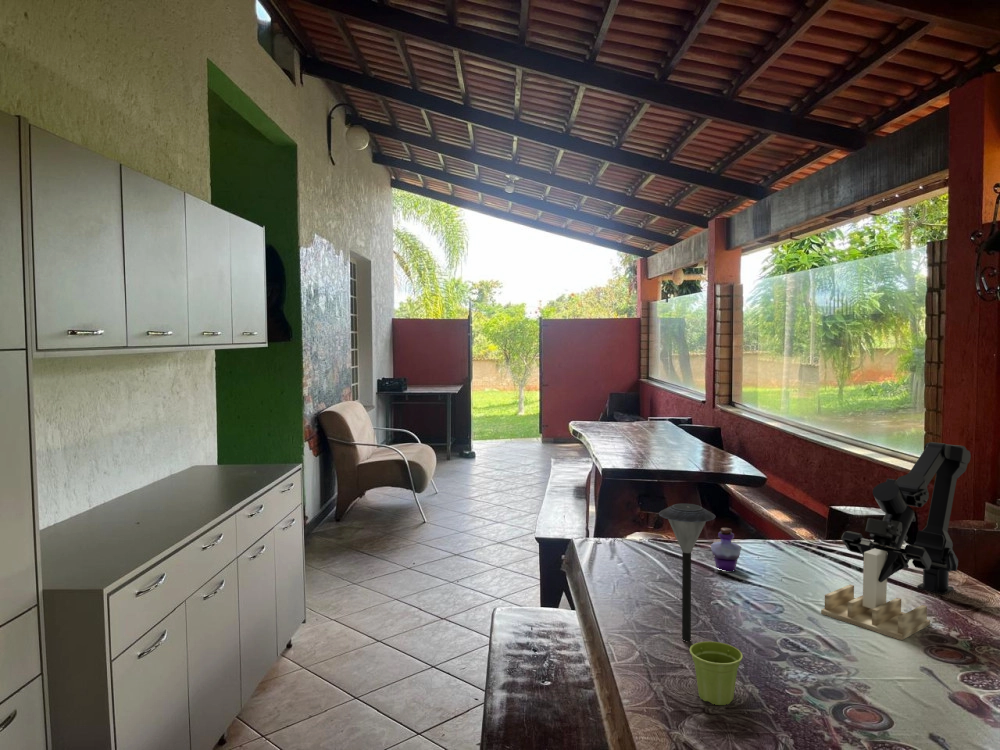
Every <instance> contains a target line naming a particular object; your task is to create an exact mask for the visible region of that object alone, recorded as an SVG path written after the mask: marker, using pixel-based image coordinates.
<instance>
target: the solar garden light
mask: <svg viewBox="0 0 1000 750" xmlns="http://www.w3.org/2000/svg"><path fill="white" fill-rule="evenodd" d="M658 515H659V517H661V518H664V519H667V520H668V522H669V524H670V526H671V529H672V532H673V534H674V537H675V538H676V540H677V542H678V545H679V547H680V549H681V554H682V555H681V556H682V557H681V558H682V559H681V561H682V562H681V564H682V565H681V566H682V567H681V568H682V573H681V574H682V575H681V577H682V578H681V580H682V582H681V583H682V584H681V585H682V586H681V588H682V589H681V593H682V595H681V596H682V597H681V598H682V599H681V601H682V602H681V607H682V608H681V609H682V612H681V613H682V615H681V617H682V618H681V623H682V624H681V626H682V627H681V639H683V640H685V641H690V640H691V641H692V636H691V635H692V552H693V550H694V547H695V545H696V543H697V541H698V539H699V537H700V535H701V533H702V530H703V529H704V527H705V525H706V522H710V521H713V520H715V518H717V517H716V515H715V514H714V513H712V511H710V510H708V509H706V508H704V507H702V506H701V505H697V504H694V503H676V504H672V505H670V506H668V507H666V508H664V509H662V510H661V511H659V512H658ZM683 640H682V641H683ZM685 641H684V642H685ZM691 641H690V642H691Z"/></svg>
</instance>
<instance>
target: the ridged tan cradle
mask: <svg viewBox="0 0 1000 750" xmlns="http://www.w3.org/2000/svg"><path fill="white" fill-rule="evenodd" d="M820 610H821V611H820V614H821V615H825V616H827V617H830V618H833V619H836V620H839V621H842V622H845V623H847V624H848V623H849V624H852V625H854V626H858V627H860V628H863V629H867V630H870V631H872V632H875V633H879V634H882V635H884V636H888V637H891V638H894V639H897V640H899V641H904V640H905V639H906V638H909V637H910V636H912V635H914V634H916V633H918V632H919V631H921V630H923V629H925V628H927V627H928V626H930V624H931V620H929V619H927V616H928V606H927V605H923V604H922V605H920V606H918V607H915V608H914V609H912V610H910V611H908V612H903V611H902V598H899V597H895V598H893V599H891V600H889V601H886V603H885V604H883V605H880V606H878V607H876V608H874V609H871V608H868V607H865V606H863V594H862V595H860V596H858V597H855V585H854V584H850V583H849V584H848V585H845V586H843V587H840V588H839V589H836V590H833V591H830V592H828V593H826V594H824V608H822V609H820Z"/></svg>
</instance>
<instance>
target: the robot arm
mask: <svg viewBox="0 0 1000 750" xmlns="http://www.w3.org/2000/svg"><path fill="white" fill-rule="evenodd" d="M970 461H971V452H970V450H968V449H967V448H966V446H964V445H957V444H947V443H942V442H933V441H930V442H926V443H925V445H924V448H923V451H922V453H921V454H920V456H919V457H918V459H917V461H915V463H914V464H913V466H912V468H911V469H910V470H909V472H908V473H907V474H904V475H901V476H899V477H898V478H897V479H893V478H886V481H884V482H880V483H878V484H877V485H875V486H874V487H873V488H872V495H873V497H874V499H875V501H876V503H877V504H878V506H879V508H880V509H881V511H882V512H883V513H885V514H884V516H883V518H882V519H876V518H869V517H868V518H867V521H866V525H865V532H867V533H869V537H870V539H872V540H873V541H872V540H870V539H868V538H864V535H862V533H859V532H854V531H850V530H847V531H846V530H845V531H844V532H843V533H842V535H841V538H840V540H841V541H842V543H843V544H844V546H845V547H846V549H847V550H848V551H849V552H852V553H856V554H859V555H862V558H863V569H864V552H866V551H869V550H871V549H874V548H876V549H880V550H883V551H887V552H888V556H887V560H886V563H885V565H884V567H883V569H882V571H881V573H880V576H879V579H878V580H879V582H883V581H884V580H886V579H887V580H888V578H890V577H891V576H892V575H894V574H895V573H898V572H899V571H901V570H902V569H909V566H910V565H909V562H910V561H911V560H912V561H911V563H912V565H913V566H914V568H916V569H921V570H922V583H920V584H918V585H917V588H918V589H921V590H926V591H929V592H933V593H935V594H941V595H946V594H947V593H950V592H951V591H953V590H954V589H955V588H954V587H953V586H950V585H949V580H950V579H949V573H950V572H957V571H958V566H959V559H958V557H957V555H956V554H955V552H954V550H953V547H954V545H953V544H954V543H953V541H952V538H951V537H950V534H949V532H948V531H949V526H950V520H951V515H952V509H953V503H954V497H955V492H956V486H957V481H958V479H959V478H960V477H961V476H962V475H963V474H964V473H965V472H966V471H967V467H968V464H969V463H970ZM934 477H935V479H934V484H933V490H932V496H931V500H930V505H929V511H928V517H927V522H926V525H925V527H924V528H922V530H920V529H919V530H918V531H916V532H917V533H916V538H915V541H914V543H913V544H905V546H904V548H903V547H902V546H903V544H904V541H905V542H907V541H908V539H909V537H908V535H907V534H908V532H909V529H910V527H911V526H912V522H913V523H915V522H916V516H915V515H916V514H915V511H914V510H913V508H912V507H916V508H922V507H924V505H925V504H927V502H928V500H929V498H930V496H929V495H930V493H929V490H928V487H929V485H930V483H931V481H932V480H933V478H934ZM911 506H912V507H911Z"/></svg>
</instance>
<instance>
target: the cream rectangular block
mask: <svg viewBox="0 0 1000 750" xmlns="http://www.w3.org/2000/svg"><path fill="white" fill-rule="evenodd" d="M887 556H888V552H887V551H883V550H880V549H876V548H874V549H871V550H869V551H866V552H864V569H863V575H862V595H863V606H865V607H868V608H871V609H874V608H876V607H878V606H880V605H883V604H885V603H887V593H888V592H887V590H888V589H887V588H888V587H887V584H888V578H887V579H886V580H884V581H883V582H879V580H878V579H879V576H880V573H881V571H882V569H883V567H884V565H885V563H886V560H887Z"/></svg>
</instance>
